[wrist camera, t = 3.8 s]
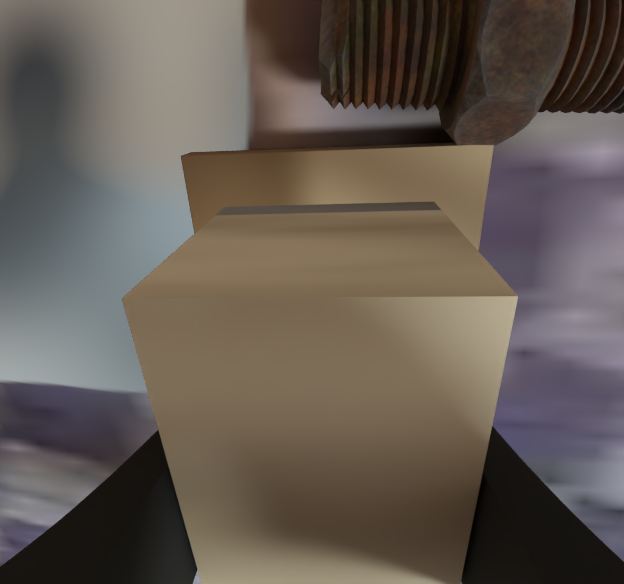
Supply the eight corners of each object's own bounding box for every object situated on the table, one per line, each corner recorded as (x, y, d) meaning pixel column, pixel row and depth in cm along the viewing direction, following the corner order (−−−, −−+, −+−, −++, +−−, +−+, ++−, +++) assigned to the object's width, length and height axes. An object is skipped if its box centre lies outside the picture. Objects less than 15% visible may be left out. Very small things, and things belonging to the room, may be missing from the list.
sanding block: (409, 473, 13) (443, 666, 9) (261, 468, 14) (220, 649, 9) (434, 201, 9) (517, 296, 5) (224, 206, 10) (122, 298, 5)
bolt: (332, 33, 14) (809, 32, 12) (323, 174, 14) (813, 188, 12) (322, -174, 8) (1207, -218, 7) (305, 63, 8) (1237, 67, 6)
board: (438, 478, 20) (442, 496, 19) (244, 472, 21) (239, 488, 20) (483, 141, 13) (494, 144, 12) (191, 152, 14) (180, 156, 13)
